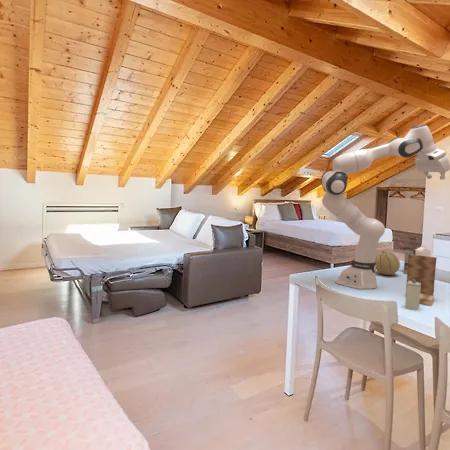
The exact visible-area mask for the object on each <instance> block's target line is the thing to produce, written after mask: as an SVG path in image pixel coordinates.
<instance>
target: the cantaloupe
mask: <svg viewBox="0 0 450 450" xmlns="http://www.w3.org/2000/svg"><path fill="white" fill-rule="evenodd" d="M375 261H376V271H377V272H378V273H380V274H382V275H384V276H391V275H394V274H396V273H398V271H399V269H400V268H401V262H400V259H399V257H397V255H396V254H395V253H392V252H388V251H383V250H382V251H381V253H379V254H376V260H375Z"/></svg>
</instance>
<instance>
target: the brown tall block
mask: <svg viewBox="0 0 450 450" xmlns="http://www.w3.org/2000/svg"><path fill="white" fill-rule="evenodd" d="M436 268H437V257H436V256H431V257H429V256H421V255H413V254H409V256H408V270H407V274H406V283H405V284H406V286H405V289H406V288H407V283H408V282H409V281H412V280H413V279H415V280H416V282H419V283H421V290H420V303H419V305H422V306H423V305H424V306H427V307H428V306H429V307H432V305H433V303H434V302H435V301H434V300H435V295H434V292H435V282H436V281H435V280H436Z"/></svg>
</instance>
